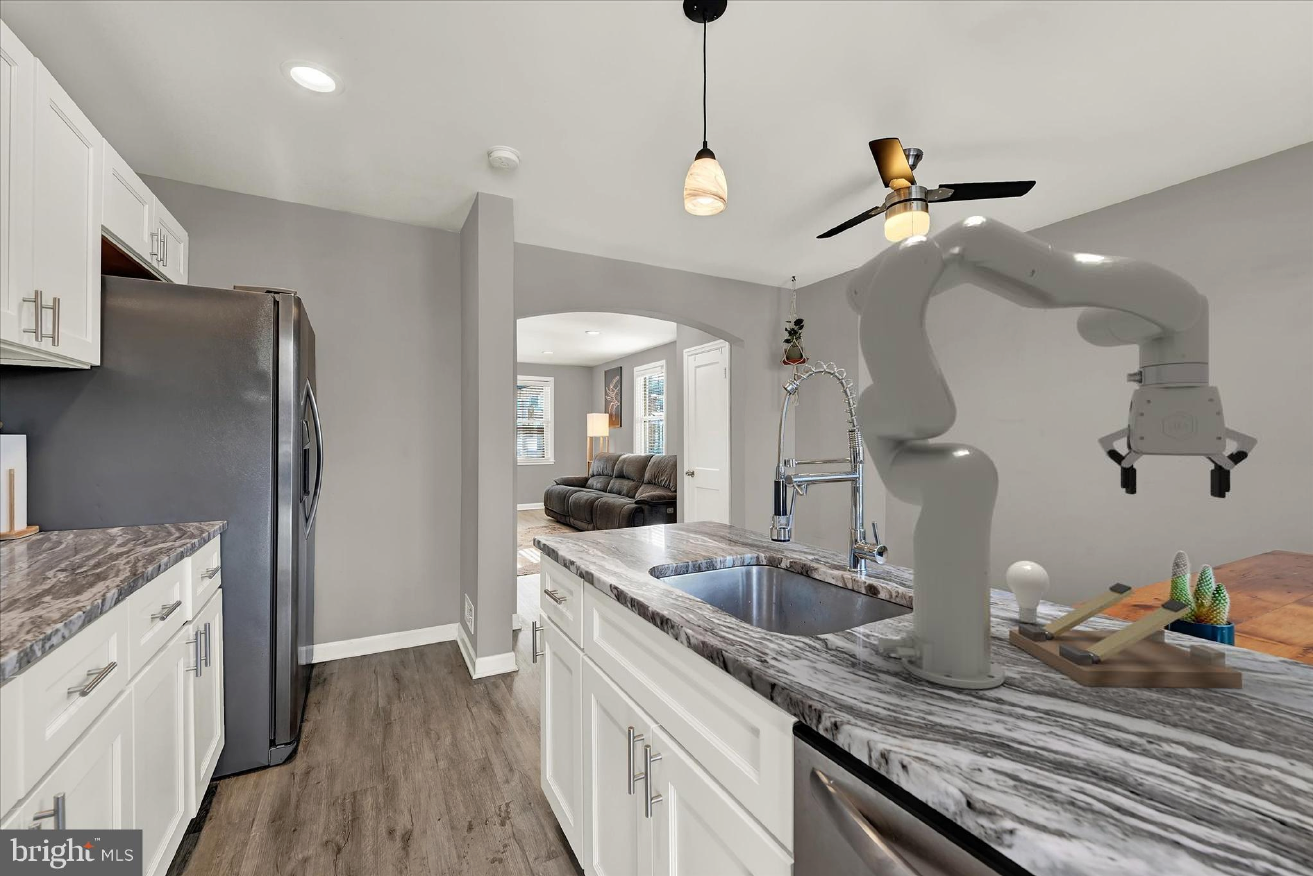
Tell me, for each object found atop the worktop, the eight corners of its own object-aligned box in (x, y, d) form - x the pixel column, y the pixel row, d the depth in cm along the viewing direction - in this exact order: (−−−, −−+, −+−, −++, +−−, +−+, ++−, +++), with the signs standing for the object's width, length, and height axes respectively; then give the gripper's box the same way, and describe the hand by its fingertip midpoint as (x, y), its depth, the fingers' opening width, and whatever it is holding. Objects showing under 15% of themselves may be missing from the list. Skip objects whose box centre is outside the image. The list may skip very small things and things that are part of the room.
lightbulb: (1058, 629, 94) (1058, 565, 94) (1021, 629, 94) (1020, 564, 94) (1033, 618, 100) (1033, 557, 100) (998, 617, 100) (998, 557, 101)
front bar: (1095, 665, 74) (1090, 658, 74) (1081, 658, 77) (1077, 651, 77) (1191, 611, 74) (1187, 604, 74) (1174, 606, 76) (1170, 599, 76)
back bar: (1049, 641, 83) (1045, 634, 83) (1038, 635, 86) (1034, 629, 86) (1134, 593, 83) (1130, 586, 83) (1121, 589, 85) (1117, 582, 85)
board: (1085, 686, 72) (1084, 656, 72) (1009, 642, 88) (1009, 618, 88) (1241, 688, 71) (1241, 658, 72) (1137, 643, 87) (1136, 619, 88)
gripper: (1103, 379, 82) (1103, 494, 82) (1267, 373, 74) (1268, 501, 74) (1093, 384, 89) (1093, 490, 89) (1243, 379, 80) (1243, 496, 80)
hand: (1173, 495), depth 81 cm, fingers open, 9 cm apart
